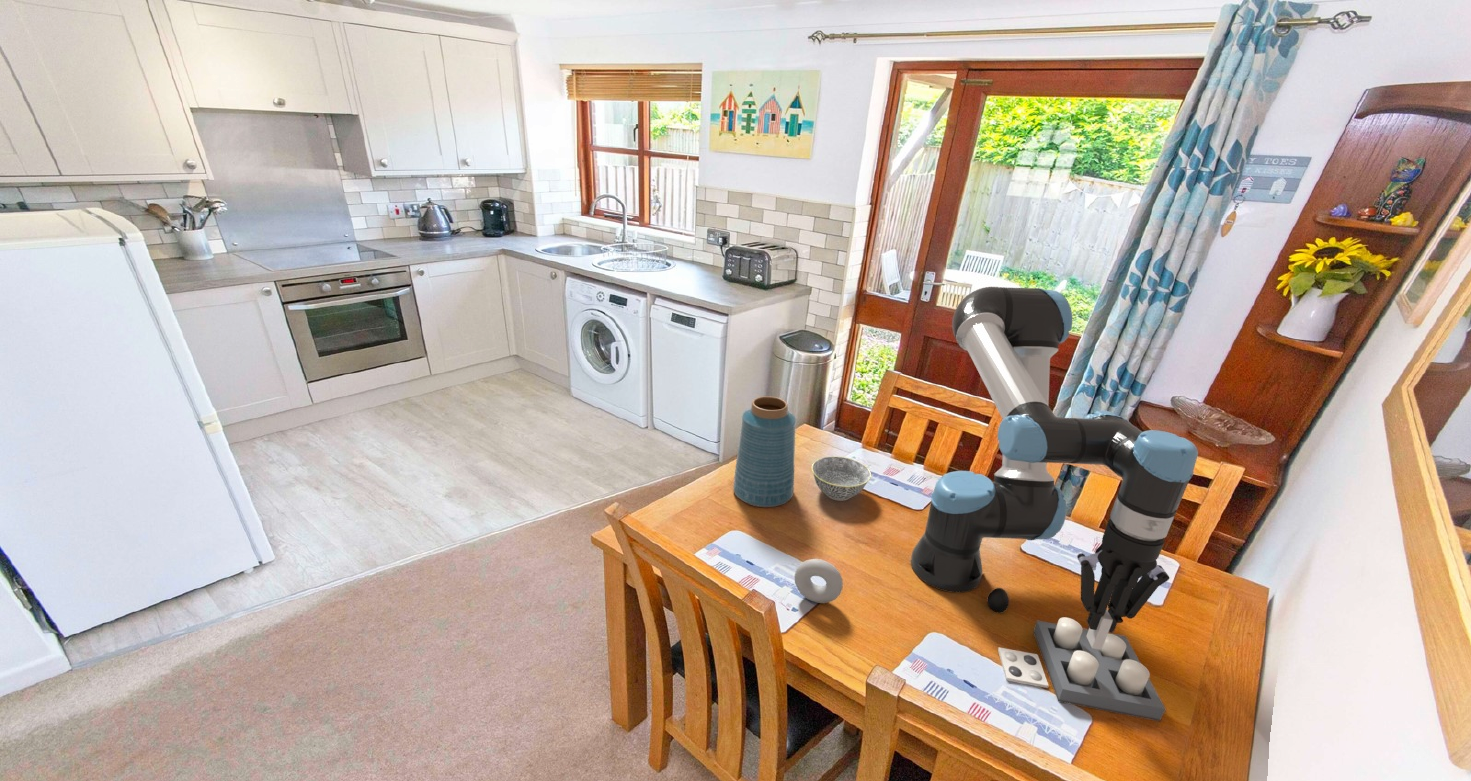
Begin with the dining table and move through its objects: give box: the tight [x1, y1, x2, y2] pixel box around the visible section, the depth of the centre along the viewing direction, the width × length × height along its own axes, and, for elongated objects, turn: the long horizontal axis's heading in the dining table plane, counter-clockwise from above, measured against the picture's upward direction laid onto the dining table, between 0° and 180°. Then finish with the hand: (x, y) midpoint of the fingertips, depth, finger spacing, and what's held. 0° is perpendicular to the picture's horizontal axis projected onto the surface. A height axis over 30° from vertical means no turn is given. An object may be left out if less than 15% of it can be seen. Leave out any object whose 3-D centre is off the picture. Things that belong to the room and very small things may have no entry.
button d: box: [1099, 632, 1126, 659], centre depth 107 cm, size 4×4×4 cm
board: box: [1032, 620, 1166, 722], centre depth 105 cm, size 16×16×3 cm
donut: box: [794, 558, 844, 604], centre depth 117 cm, size 10×4×10 cm, turn 71°
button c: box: [1053, 616, 1084, 650], centre depth 108 cm, size 4×4×4 cm
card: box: [997, 647, 1049, 689], centre depth 105 cm, size 7×7×1 cm
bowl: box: [811, 455, 872, 502], centre depth 155 cm, size 16×16×8 cm
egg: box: [986, 587, 1010, 614], centre depth 118 cm, size 4×4×5 cm
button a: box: [1067, 650, 1099, 686], centre depth 101 cm, size 4×4×4 cm
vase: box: [732, 395, 797, 508], centre depth 150 cm, size 16×16×27 cm
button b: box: [1115, 659, 1151, 696], centre depth 99 cm, size 4×4×4 cm
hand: (1093, 642), depth 98 cm, fingers closed
